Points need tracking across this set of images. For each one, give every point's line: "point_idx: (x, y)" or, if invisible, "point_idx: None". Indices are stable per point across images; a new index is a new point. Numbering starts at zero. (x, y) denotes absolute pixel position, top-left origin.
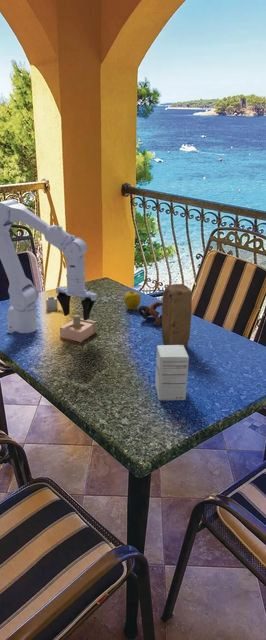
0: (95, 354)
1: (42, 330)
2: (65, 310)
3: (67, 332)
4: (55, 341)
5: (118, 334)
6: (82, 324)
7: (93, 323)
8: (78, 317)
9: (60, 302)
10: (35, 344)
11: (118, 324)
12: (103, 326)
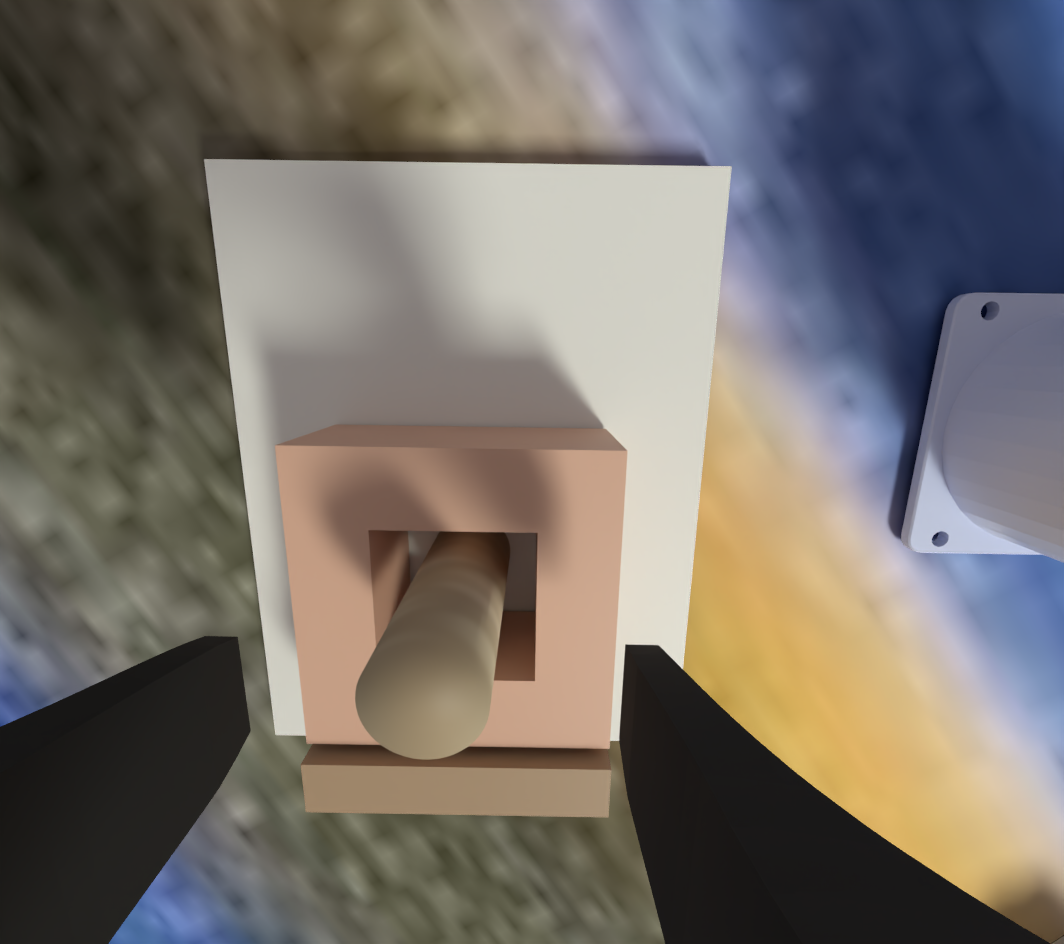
0: (90, 302)
1: (897, 541)
2: (655, 723)
3: (499, 438)
4: None
5: None
6: None
7: (312, 755)
8: (363, 672)
9: (902, 884)
10: (784, 192)
11: (340, 940)
12: (424, 859)
